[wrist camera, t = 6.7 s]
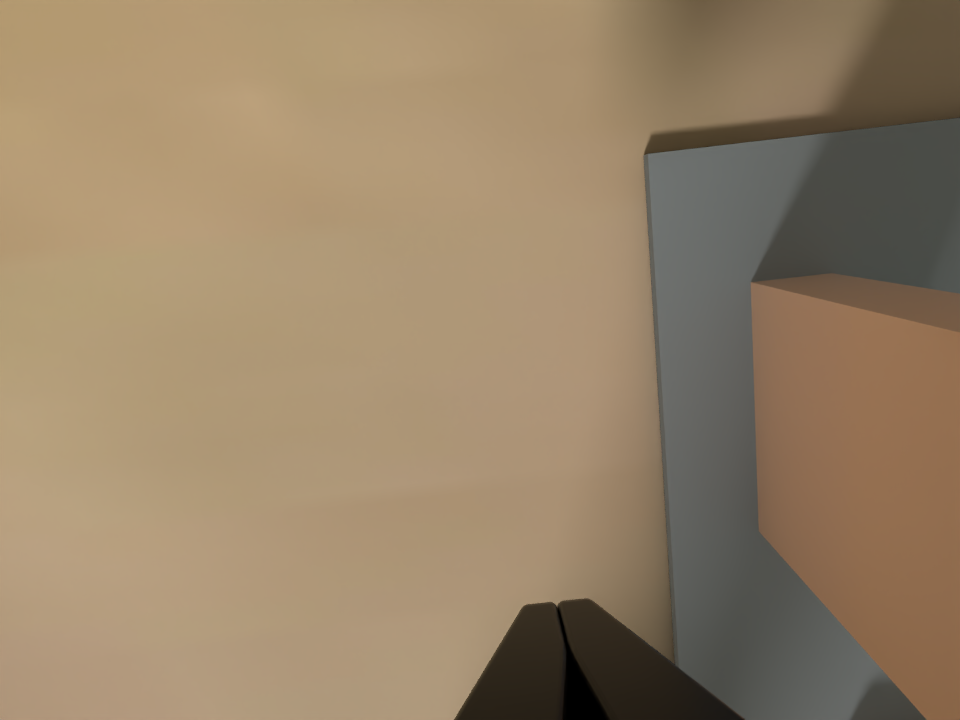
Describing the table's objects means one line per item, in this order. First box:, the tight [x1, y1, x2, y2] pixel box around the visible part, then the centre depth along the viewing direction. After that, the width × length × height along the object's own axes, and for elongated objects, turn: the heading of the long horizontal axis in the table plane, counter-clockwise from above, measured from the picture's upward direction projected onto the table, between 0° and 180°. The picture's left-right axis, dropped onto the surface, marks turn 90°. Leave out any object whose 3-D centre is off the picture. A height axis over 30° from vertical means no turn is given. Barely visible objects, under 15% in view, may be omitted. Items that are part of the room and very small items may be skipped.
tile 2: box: [751, 273, 960, 720], centre depth 12 cm, size 6×2×8 cm, turn 6°
